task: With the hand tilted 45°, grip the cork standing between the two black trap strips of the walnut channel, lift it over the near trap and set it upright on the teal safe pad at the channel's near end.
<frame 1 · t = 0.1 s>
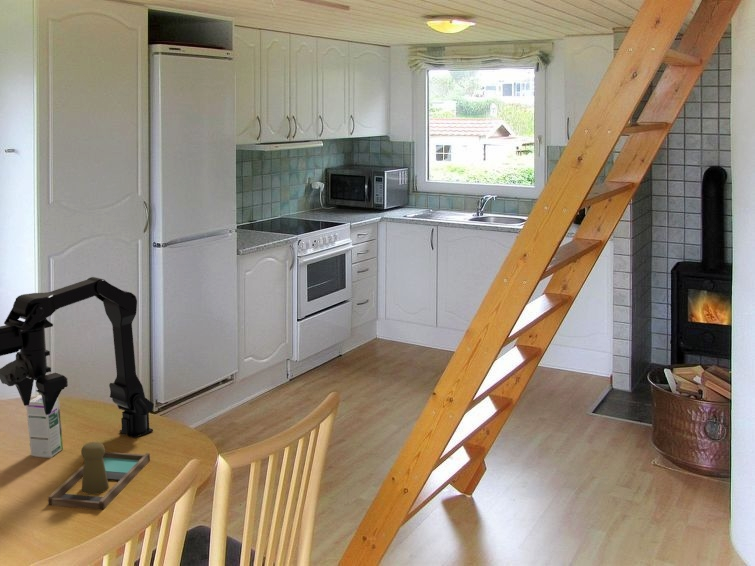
hand: (37, 409, 217), 15 cm above the table, tool pointing down, fingers open, 9 cm apart
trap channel: (102, 481, 213), on the table
safe pad: (117, 466, 221), resting in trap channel
cork: (95, 489, 209), resting in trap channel
syrup box: (46, 453, 228), on the table
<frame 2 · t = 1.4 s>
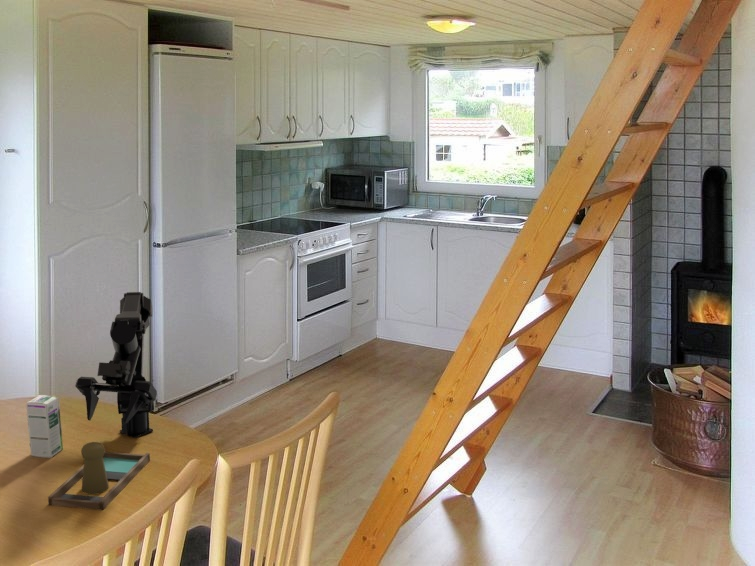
hand: (106, 421, 214), 13 cm above the table, tool tilted 45°, fingers open, 9 cm apart
nothing on the table moved.
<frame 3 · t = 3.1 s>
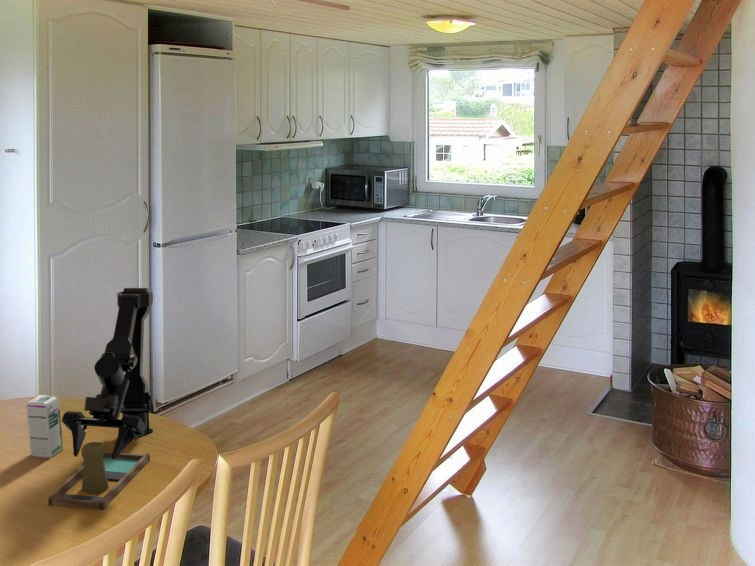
hand: (93, 457, 208), 8 cm above the table, tool tilted 45°, fingers open, 9 cm apart
nothing on the table moved.
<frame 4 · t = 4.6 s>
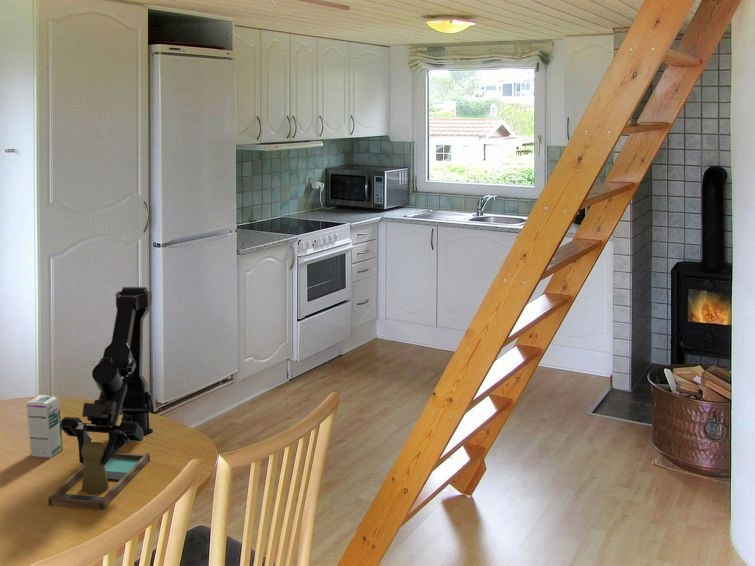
hand: (92, 463, 207), 7 cm above the table, tool tilted 45°, fingers closed on cork, 5 cm apart
cork: (95, 489, 209), resting in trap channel, touching gripper
everything else where it was.
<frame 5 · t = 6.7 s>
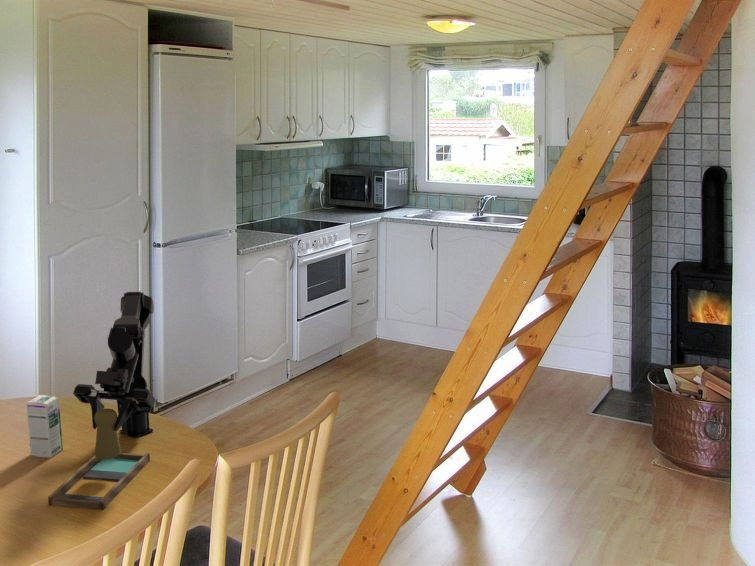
hand: (104, 429, 213), 12 cm above the table, tool tilted 45°, fingers closed on cork, 5 cm apart
cork: (108, 454, 216), point 5 cm above the table, touching gripper
everything else where it was.
when the fingers open (8 cm above the table, at t = 9.0 s): cork stays where it is, resting on safe pad.
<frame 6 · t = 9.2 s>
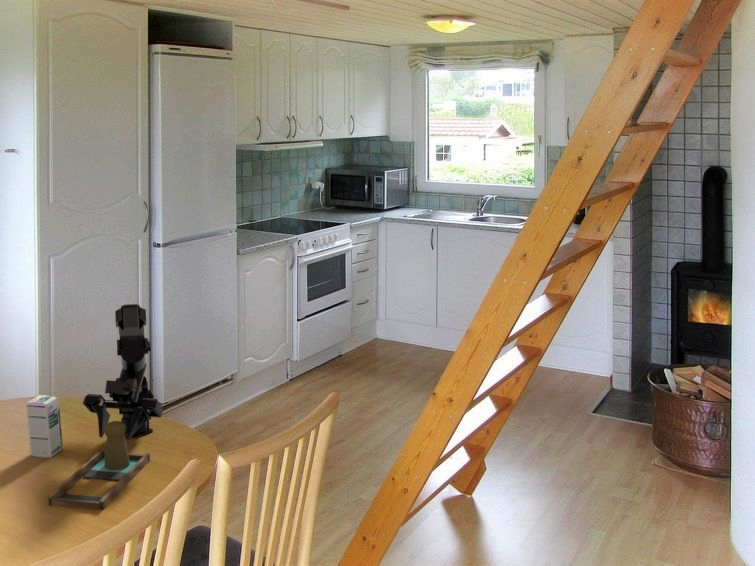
hand: (114, 437, 218), 8 cm above the table, tool tilted 45°, fingers open, 7 cm apart
cork: (117, 465, 221), resting on safe pad
everything else where it was.
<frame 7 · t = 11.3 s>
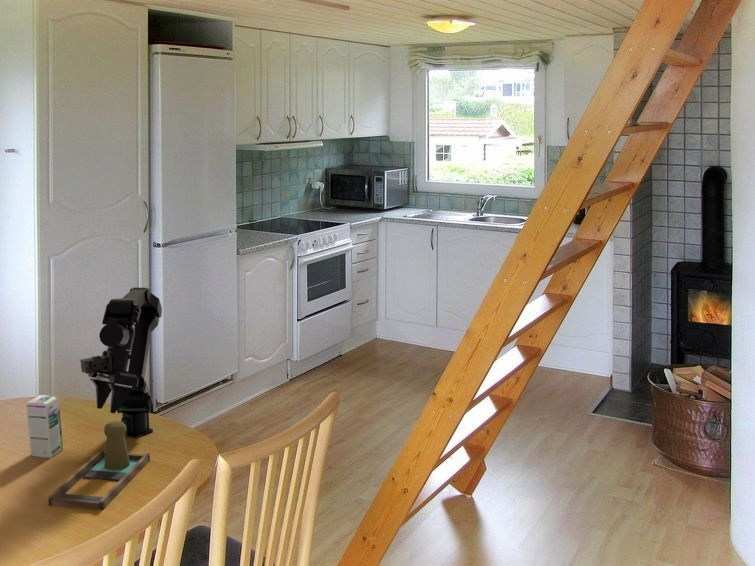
hand: (105, 410, 224), 12 cm above the table, tool tilted 20°, fingers open, 9 cm apart
nothing on the table moved.
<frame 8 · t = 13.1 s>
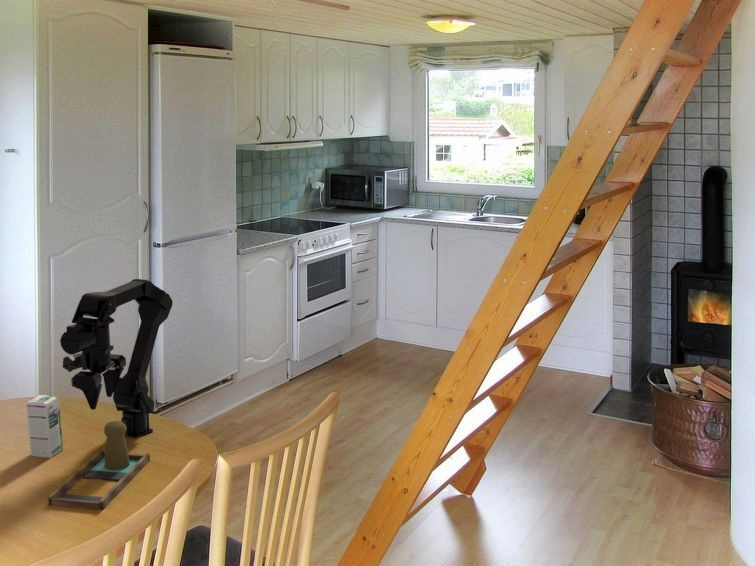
hand: (101, 402, 227), 13 cm above the table, tool pointing down, fingers open, 9 cm apart
nothing on the table moved.
at the end: cork 0.1 cm off-centre on the safe pad, point 0.2 cm above the safe pad's base; cork tilted 0°; the gripper is holding nothing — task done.
